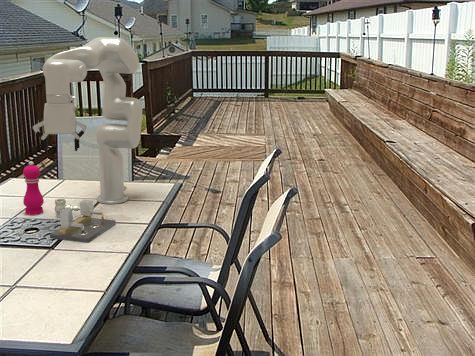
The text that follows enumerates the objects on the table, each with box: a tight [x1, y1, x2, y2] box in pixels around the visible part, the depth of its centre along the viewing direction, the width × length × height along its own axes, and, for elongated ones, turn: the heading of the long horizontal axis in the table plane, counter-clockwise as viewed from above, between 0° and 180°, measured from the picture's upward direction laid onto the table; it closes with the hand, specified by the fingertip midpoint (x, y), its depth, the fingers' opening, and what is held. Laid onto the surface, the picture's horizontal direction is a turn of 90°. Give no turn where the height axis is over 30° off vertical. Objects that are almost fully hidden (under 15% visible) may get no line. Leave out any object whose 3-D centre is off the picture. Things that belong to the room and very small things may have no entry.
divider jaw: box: [79, 199, 105, 220], centre depth 206 cm, size 3×8×6 cm, turn 75°
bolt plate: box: [49, 209, 116, 244], centre depth 199 cm, size 20×14×9 cm
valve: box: [54, 198, 80, 219], centre depth 214 cm, size 7×7×12 cm
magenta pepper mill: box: [22, 160, 45, 216], centre depth 216 cm, size 7×7×20 cm
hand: (61, 150), depth 194 cm, fingers open, 9 cm apart
